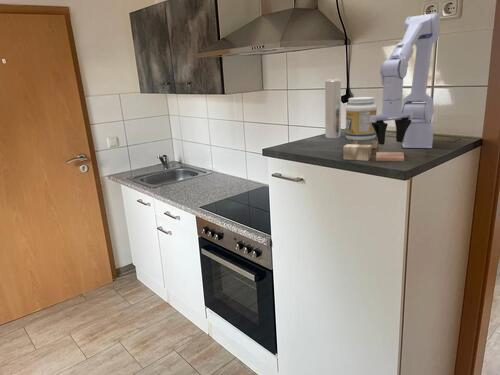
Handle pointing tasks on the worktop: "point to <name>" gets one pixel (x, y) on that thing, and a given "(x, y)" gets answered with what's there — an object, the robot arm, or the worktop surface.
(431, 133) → the robot arm
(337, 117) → the air filter
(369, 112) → the supplement tub
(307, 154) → the worktop surface
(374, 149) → the slot rack
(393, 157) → the terracotta tile
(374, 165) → the worktop surface
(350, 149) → the birch block
